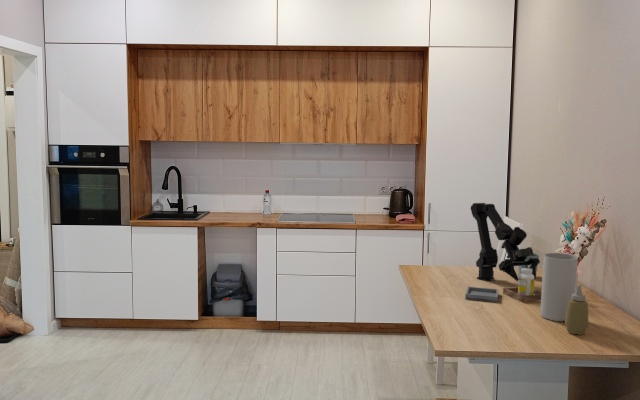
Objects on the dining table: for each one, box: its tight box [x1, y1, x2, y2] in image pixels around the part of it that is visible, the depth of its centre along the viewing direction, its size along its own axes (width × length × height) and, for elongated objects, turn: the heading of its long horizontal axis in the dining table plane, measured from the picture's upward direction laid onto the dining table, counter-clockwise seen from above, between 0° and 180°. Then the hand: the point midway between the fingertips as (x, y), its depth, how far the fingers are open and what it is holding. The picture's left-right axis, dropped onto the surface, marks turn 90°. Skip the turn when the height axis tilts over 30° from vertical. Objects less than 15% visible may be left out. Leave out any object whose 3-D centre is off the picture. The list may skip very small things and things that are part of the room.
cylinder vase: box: [539, 252, 579, 323], centre depth 234 cm, size 12×12×25 cm
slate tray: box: [464, 286, 499, 303], centre depth 264 cm, size 14×14×2 cm
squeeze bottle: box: [564, 284, 590, 336], centre depth 216 cm, size 8×8×18 cm
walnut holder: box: [502, 286, 542, 303], centre depth 265 cm, size 14×14×2 cm
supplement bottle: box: [517, 268, 535, 296], centre depth 264 cm, size 7×7×13 cm
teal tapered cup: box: [517, 252, 540, 277], centre depth 302 cm, size 10×10×12 cm
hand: (526, 279), depth 264 cm, fingers open, 9 cm apart
